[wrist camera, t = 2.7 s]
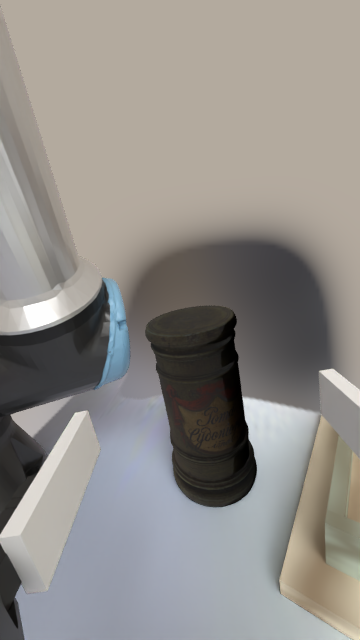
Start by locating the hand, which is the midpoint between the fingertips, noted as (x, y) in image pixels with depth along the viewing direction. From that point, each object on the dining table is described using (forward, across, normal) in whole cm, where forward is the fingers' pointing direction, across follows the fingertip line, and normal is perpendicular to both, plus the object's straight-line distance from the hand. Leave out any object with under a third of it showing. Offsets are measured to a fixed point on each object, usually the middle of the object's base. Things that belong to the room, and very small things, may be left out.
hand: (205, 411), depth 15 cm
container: (+10, 0, -15) cm, 19 cm away
